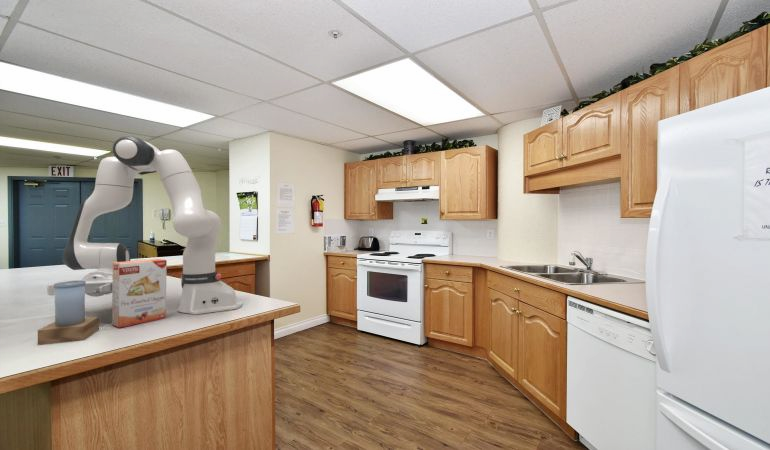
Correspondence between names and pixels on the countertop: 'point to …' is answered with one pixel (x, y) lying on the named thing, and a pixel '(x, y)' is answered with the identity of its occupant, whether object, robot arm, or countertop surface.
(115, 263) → the cracker box
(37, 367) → the countertop surface
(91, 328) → the plinth
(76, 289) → the canister
